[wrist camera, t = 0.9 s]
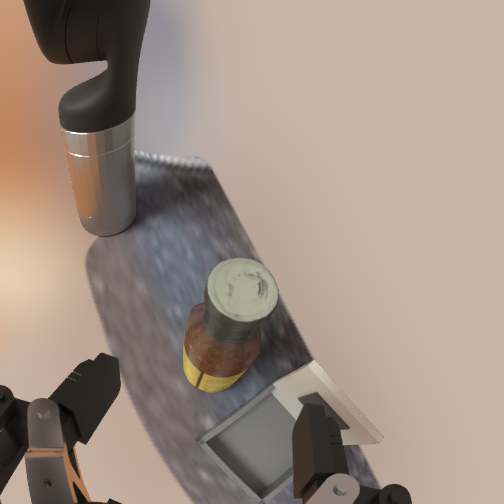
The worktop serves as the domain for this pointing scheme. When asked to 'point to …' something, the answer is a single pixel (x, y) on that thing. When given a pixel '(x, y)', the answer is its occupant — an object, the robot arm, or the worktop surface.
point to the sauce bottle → (228, 324)
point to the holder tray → (279, 430)
